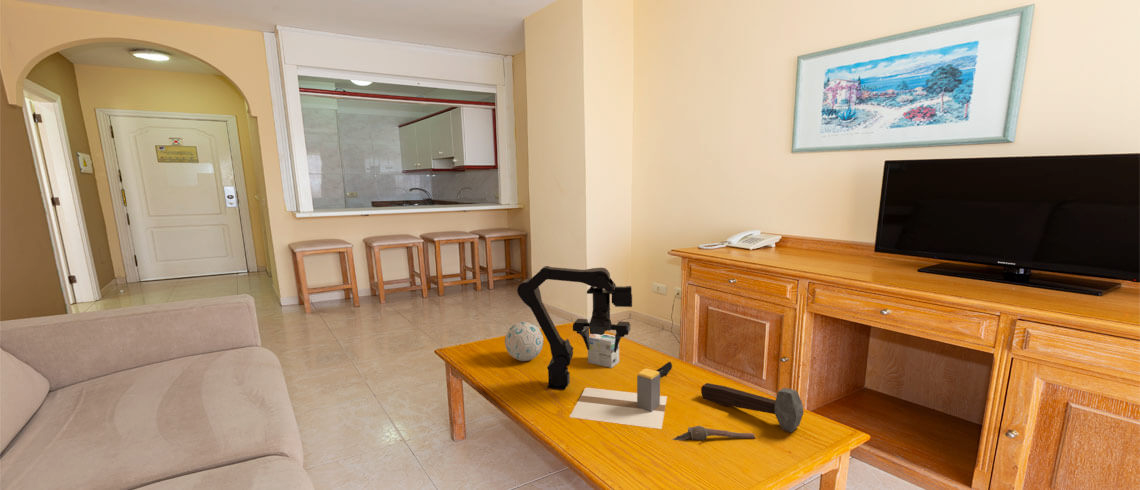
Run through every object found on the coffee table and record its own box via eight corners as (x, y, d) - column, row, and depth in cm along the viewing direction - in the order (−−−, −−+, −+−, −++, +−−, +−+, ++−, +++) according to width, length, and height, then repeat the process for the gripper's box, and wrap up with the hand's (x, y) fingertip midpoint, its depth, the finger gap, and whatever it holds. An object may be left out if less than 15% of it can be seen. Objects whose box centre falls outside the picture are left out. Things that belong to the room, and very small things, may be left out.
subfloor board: (569, 419, 137) (569, 416, 137) (585, 389, 156) (585, 387, 156) (661, 431, 130) (661, 428, 130) (667, 398, 149) (667, 396, 149)
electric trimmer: (674, 370, 171) (675, 362, 171) (656, 385, 159) (656, 376, 159) (665, 368, 174) (665, 360, 173) (646, 382, 161) (646, 374, 161)
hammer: (701, 410, 148) (797, 435, 126) (697, 376, 148) (794, 395, 126) (709, 405, 152) (804, 428, 129) (706, 371, 151) (801, 389, 129)
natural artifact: (671, 444, 126) (669, 428, 128) (754, 439, 126) (750, 423, 128) (674, 443, 123) (671, 426, 125) (759, 437, 123) (755, 421, 125)
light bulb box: (619, 362, 179) (619, 335, 177) (611, 368, 173) (611, 341, 172) (595, 357, 184) (595, 331, 183) (587, 363, 179) (586, 336, 177)
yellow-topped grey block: (637, 406, 142) (637, 372, 141) (645, 400, 146) (645, 367, 144) (651, 412, 139) (651, 377, 137) (659, 405, 143) (660, 371, 141)
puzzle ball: (523, 349, 194) (522, 315, 192) (551, 357, 185) (550, 321, 183) (497, 361, 182) (496, 324, 180) (526, 370, 173) (525, 331, 171)
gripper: (567, 311, 149) (568, 357, 151) (625, 314, 143) (625, 362, 146) (576, 302, 159) (577, 345, 161) (630, 305, 154) (630, 350, 156)
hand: (601, 351), depth 156 cm, fingers open, 9 cm apart
